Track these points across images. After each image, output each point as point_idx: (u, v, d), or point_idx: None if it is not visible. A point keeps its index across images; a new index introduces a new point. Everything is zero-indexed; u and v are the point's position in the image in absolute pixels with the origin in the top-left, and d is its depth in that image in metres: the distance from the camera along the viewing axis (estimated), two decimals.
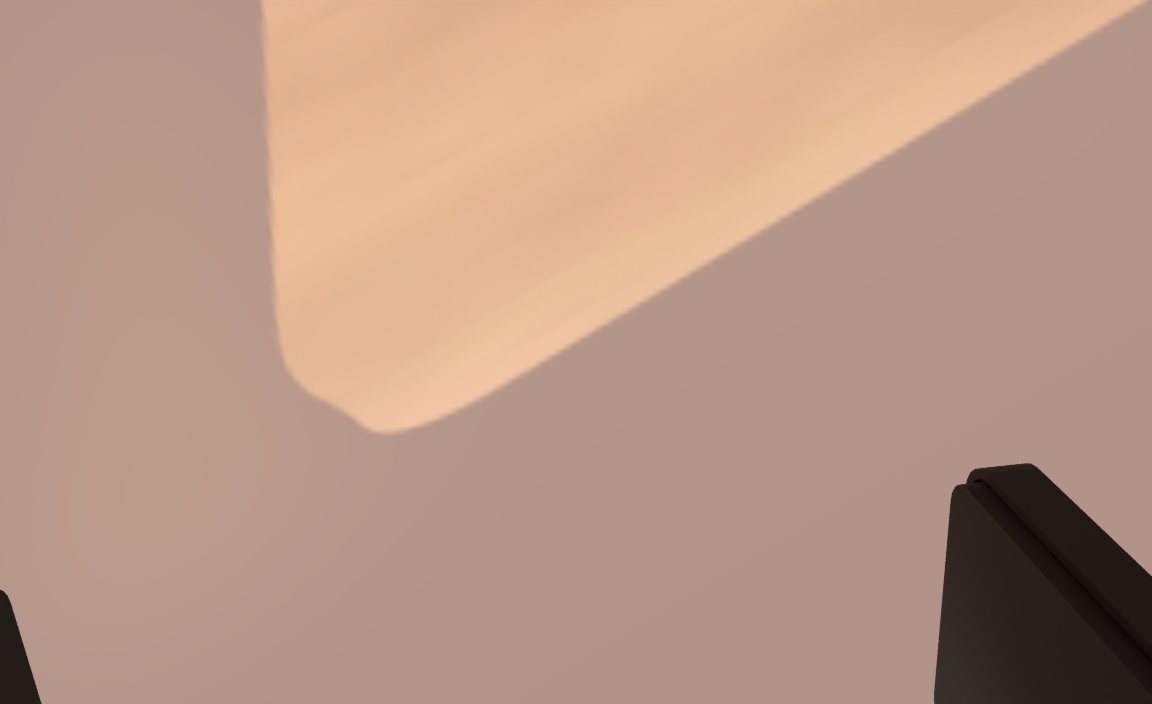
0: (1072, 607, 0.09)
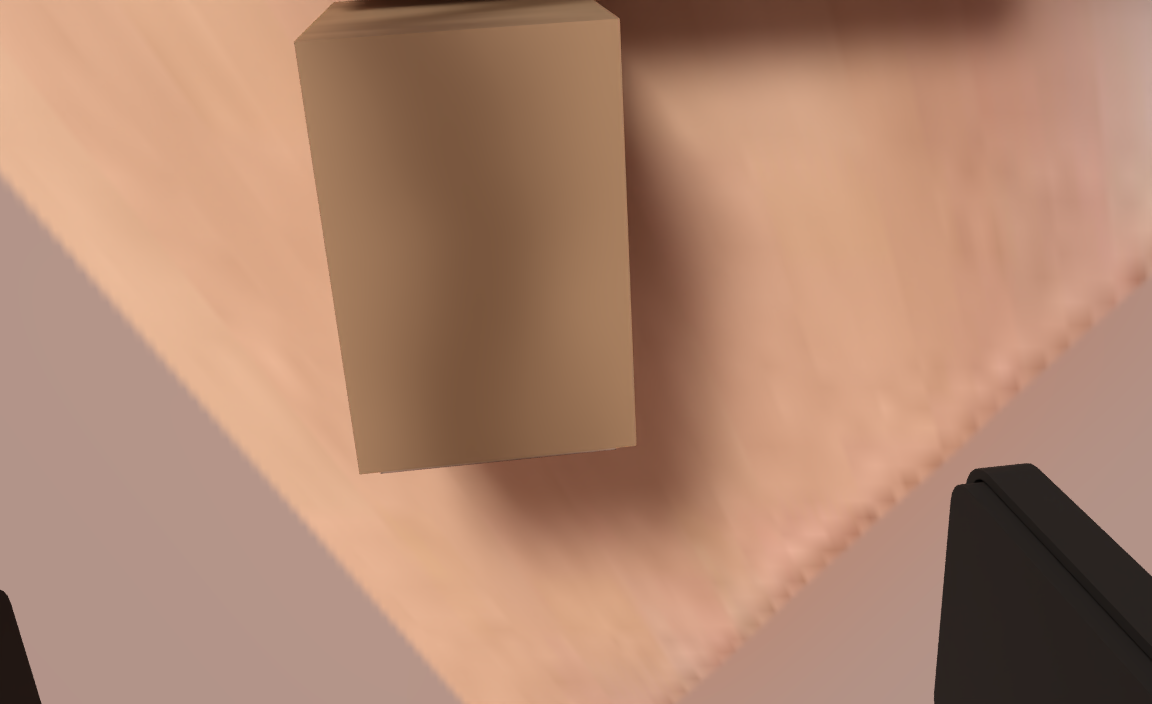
0: (1072, 607, 0.09)
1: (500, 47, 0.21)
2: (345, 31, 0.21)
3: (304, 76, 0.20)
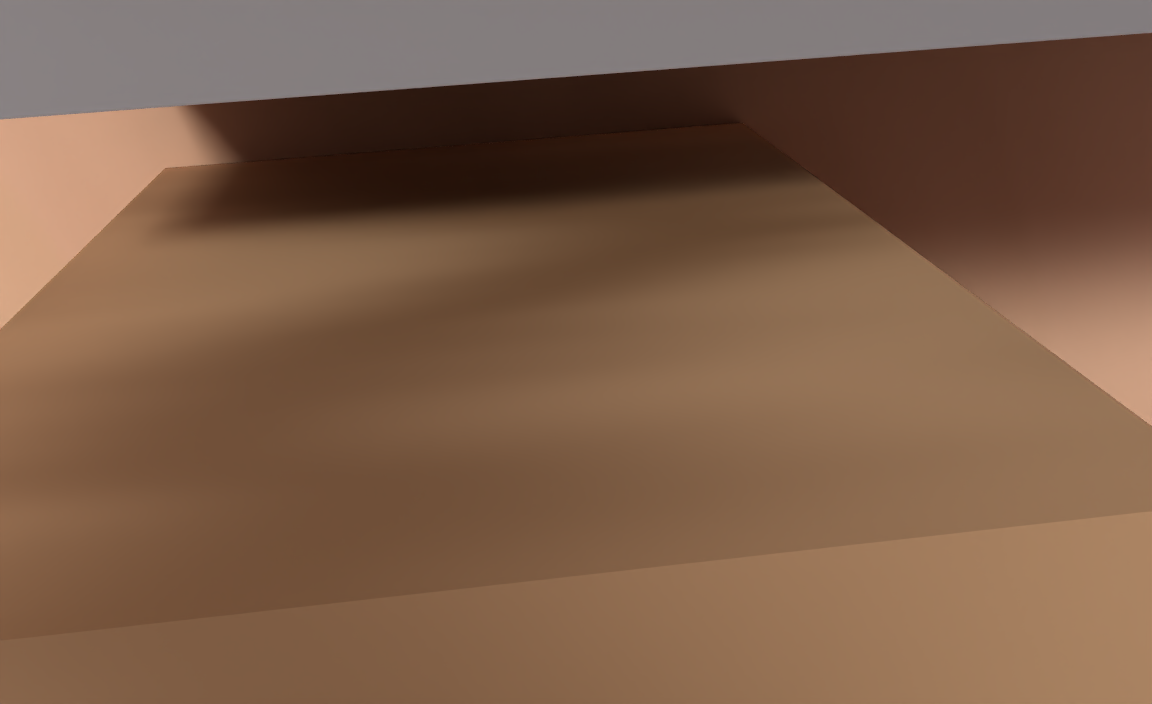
0: None
1: (688, 642, 0.04)
2: None
3: None
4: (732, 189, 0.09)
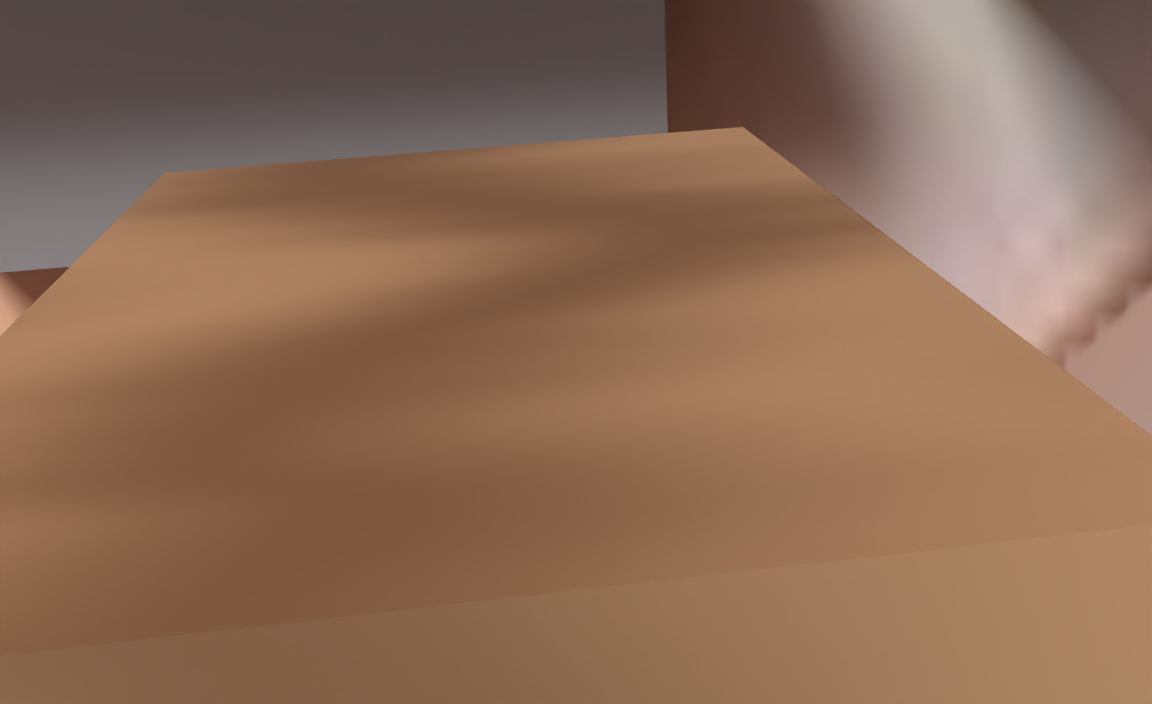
0: None
1: (688, 657, 0.04)
2: None
3: None
4: (733, 195, 0.09)
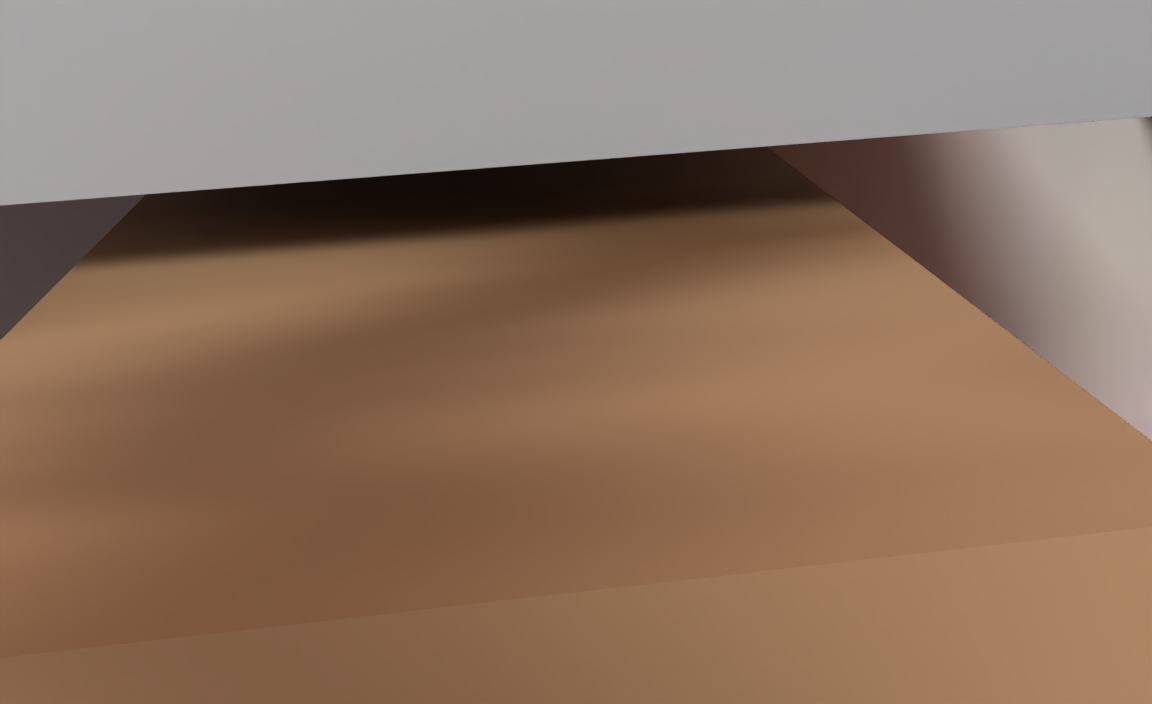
0: None
1: (688, 657, 0.04)
2: (0, 517, 0.05)
3: None
4: (732, 197, 0.09)
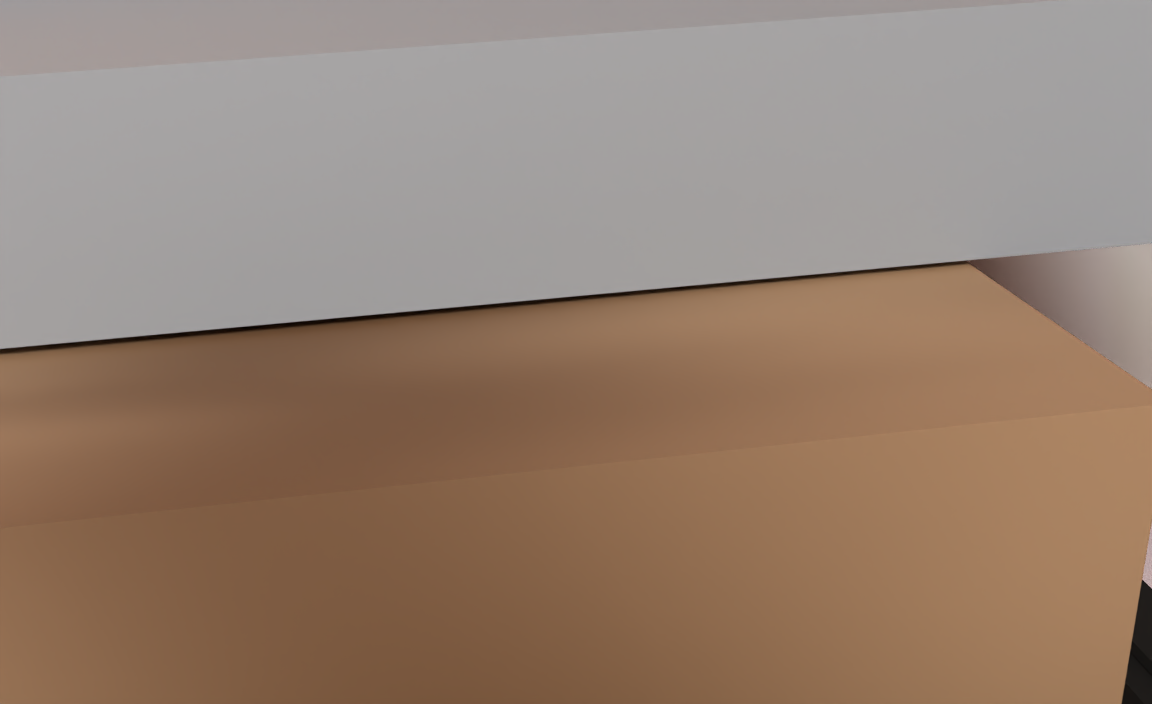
0: None
1: (676, 529, 0.05)
2: (62, 418, 0.05)
3: None
4: None
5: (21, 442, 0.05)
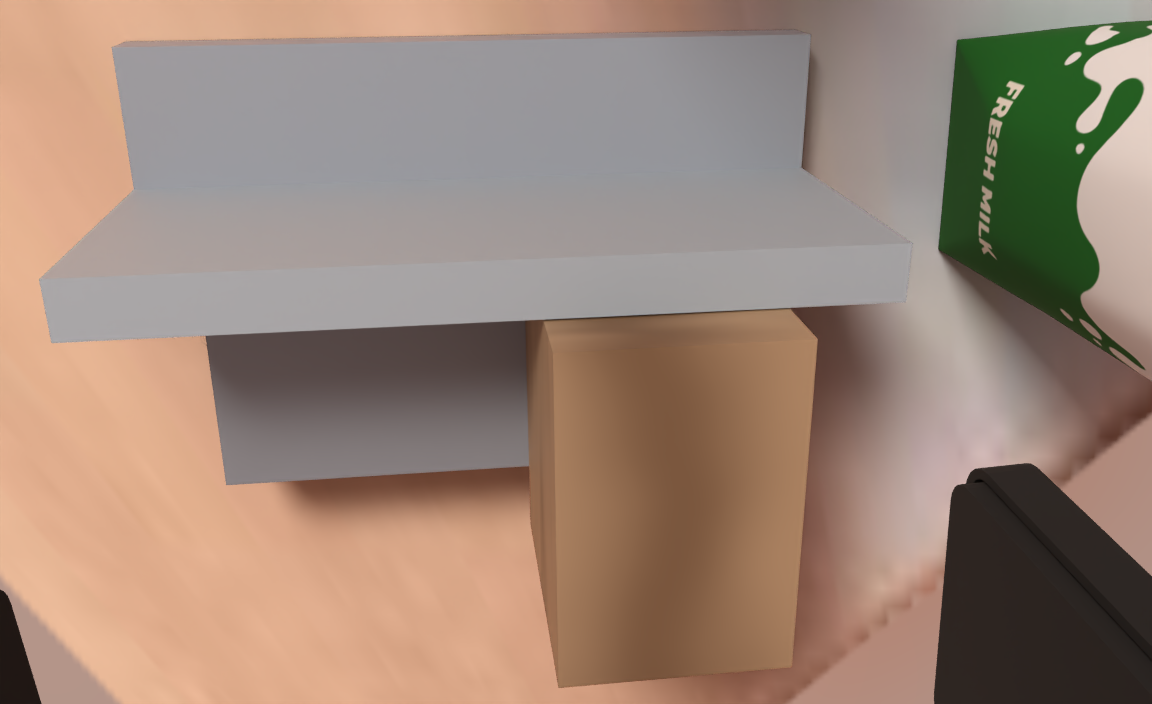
0: (1072, 607, 0.09)
1: (718, 359, 0.25)
2: (584, 334, 0.25)
3: (558, 379, 0.24)
4: None
5: (580, 338, 0.25)
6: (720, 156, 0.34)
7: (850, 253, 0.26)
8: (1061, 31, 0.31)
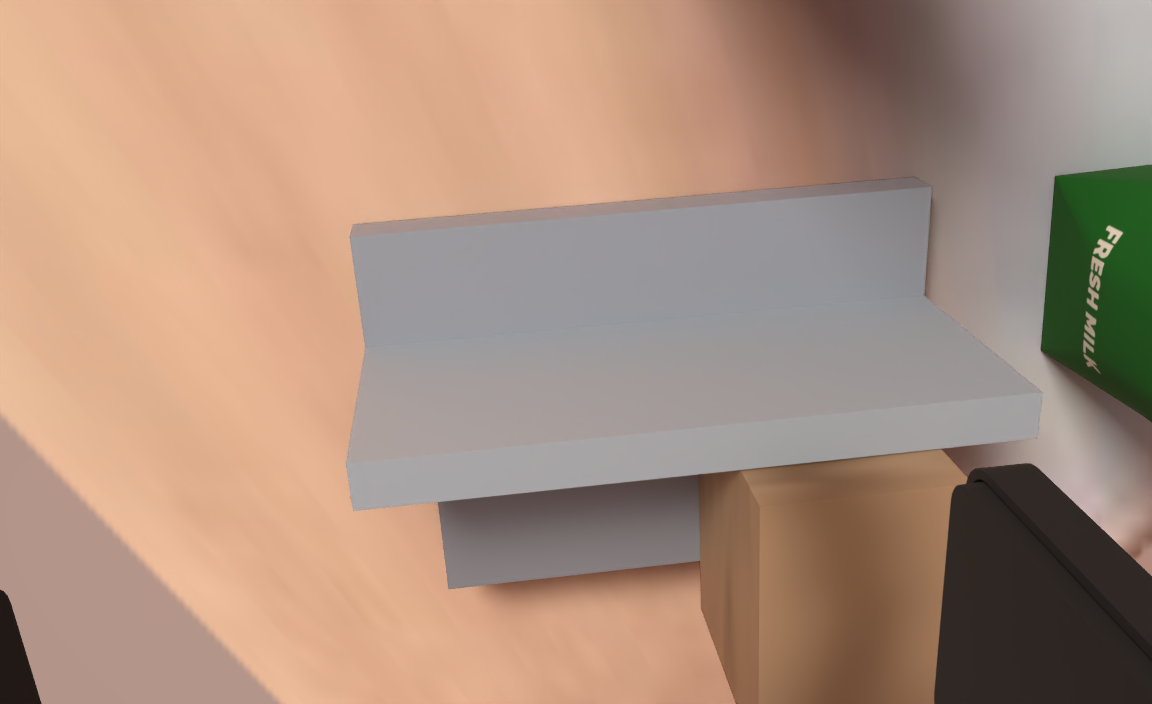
0: (1072, 607, 0.09)
1: (892, 503, 0.30)
2: (779, 484, 0.31)
3: (763, 526, 0.30)
4: None
5: (777, 489, 0.31)
6: (854, 290, 0.39)
7: (991, 403, 0.32)
8: None
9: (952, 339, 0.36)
